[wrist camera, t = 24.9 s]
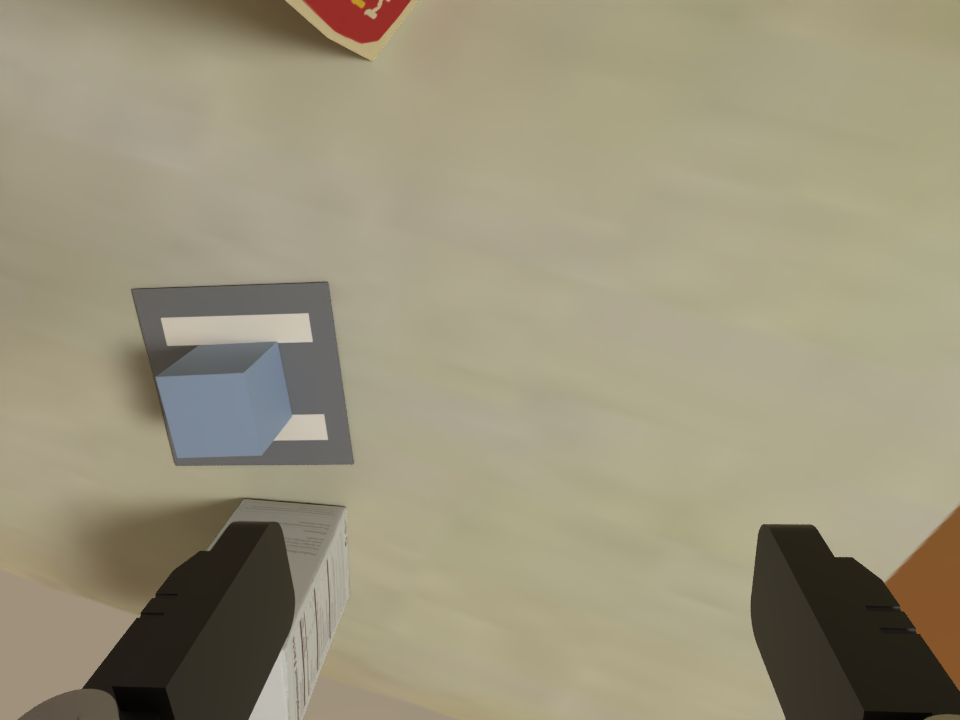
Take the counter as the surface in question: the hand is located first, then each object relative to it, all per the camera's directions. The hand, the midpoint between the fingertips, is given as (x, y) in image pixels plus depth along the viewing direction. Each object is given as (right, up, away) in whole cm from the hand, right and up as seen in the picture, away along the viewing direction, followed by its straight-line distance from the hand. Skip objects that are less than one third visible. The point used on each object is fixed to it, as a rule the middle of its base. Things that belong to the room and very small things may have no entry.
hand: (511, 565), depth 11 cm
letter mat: (-15, +2, +31) cm, 34 cm away
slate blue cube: (-15, +2, +31) cm, 34 cm away
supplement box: (-13, -9, +35) cm, 39 cm away
